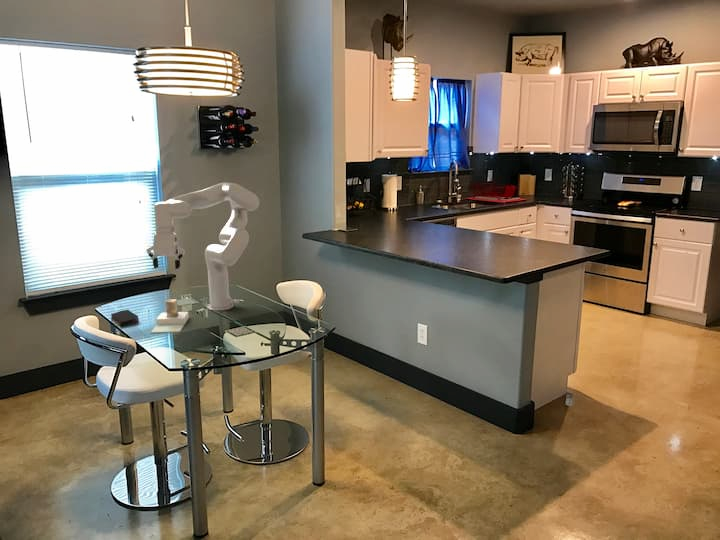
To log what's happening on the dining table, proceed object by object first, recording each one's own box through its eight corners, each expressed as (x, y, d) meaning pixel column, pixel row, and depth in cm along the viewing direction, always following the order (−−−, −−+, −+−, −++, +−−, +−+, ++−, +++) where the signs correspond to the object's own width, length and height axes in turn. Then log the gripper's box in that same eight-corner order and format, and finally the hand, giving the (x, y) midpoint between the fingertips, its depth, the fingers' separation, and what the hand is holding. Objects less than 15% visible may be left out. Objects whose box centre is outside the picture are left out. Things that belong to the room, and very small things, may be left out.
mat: (184, 326, 255) (183, 324, 255) (179, 333, 246) (179, 331, 246) (156, 327, 254) (156, 325, 254) (151, 334, 245) (150, 332, 245)
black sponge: (140, 324, 258) (139, 317, 258) (121, 328, 253) (120, 320, 252) (128, 316, 271) (127, 309, 270) (109, 320, 265) (109, 312, 265)
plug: (178, 320, 262) (176, 299, 260) (176, 322, 258) (174, 301, 256) (169, 320, 262) (167, 299, 260) (167, 323, 258) (165, 301, 256)
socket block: (188, 318, 266) (188, 311, 265) (184, 325, 256) (183, 318, 255) (162, 319, 264) (161, 312, 264) (156, 326, 255) (156, 319, 254)
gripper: (186, 229, 257) (188, 267, 260) (149, 228, 258) (151, 266, 261) (180, 231, 250) (182, 270, 253) (141, 231, 250) (144, 269, 254)
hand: (166, 268), depth 257 cm, fingers open, 9 cm apart
